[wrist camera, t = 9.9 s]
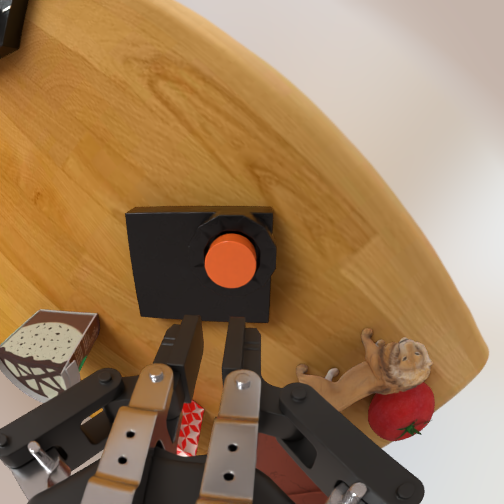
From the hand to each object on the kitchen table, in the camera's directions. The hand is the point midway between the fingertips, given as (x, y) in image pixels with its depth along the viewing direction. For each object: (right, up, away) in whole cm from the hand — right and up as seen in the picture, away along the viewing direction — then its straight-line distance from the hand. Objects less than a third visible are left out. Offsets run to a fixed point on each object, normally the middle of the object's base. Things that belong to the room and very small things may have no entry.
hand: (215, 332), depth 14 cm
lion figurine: (+12, -6, +16) cm, 22 cm away
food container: (-20, -6, +17) cm, 27 cm away
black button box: (-3, +3, +13) cm, 14 cm away
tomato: (+20, -14, +19) cm, 31 cm away
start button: (0, +3, +9) cm, 9 cm away
